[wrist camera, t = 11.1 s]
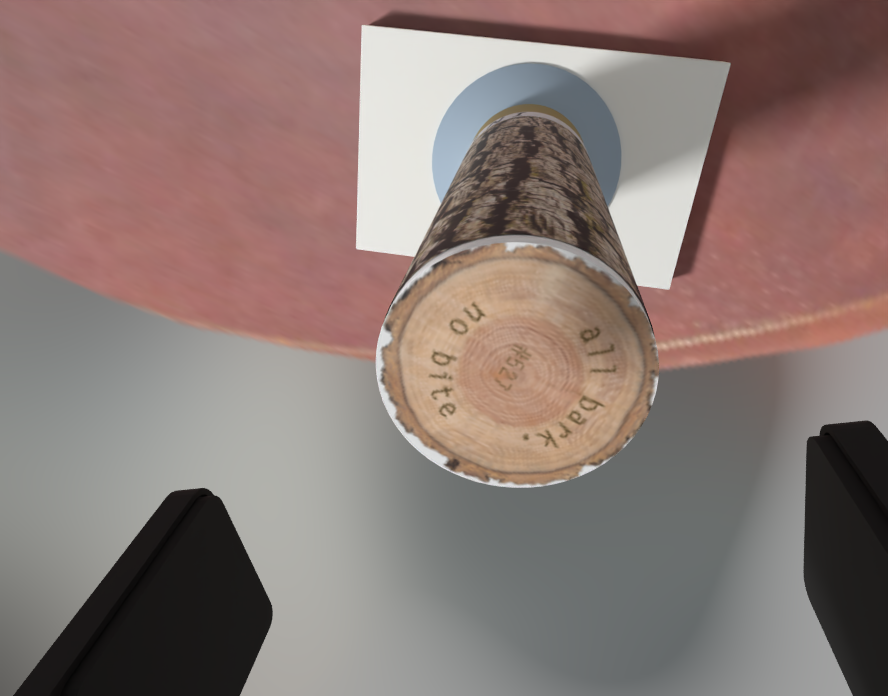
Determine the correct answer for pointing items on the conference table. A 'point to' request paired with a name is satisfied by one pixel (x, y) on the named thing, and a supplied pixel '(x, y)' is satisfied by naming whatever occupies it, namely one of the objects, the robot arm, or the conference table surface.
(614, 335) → the paper tube
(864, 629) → the robot arm
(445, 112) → the holder board
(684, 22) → the conference table surface
